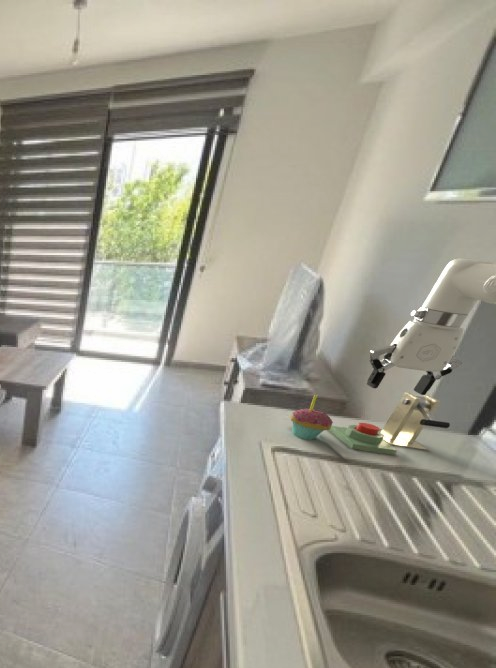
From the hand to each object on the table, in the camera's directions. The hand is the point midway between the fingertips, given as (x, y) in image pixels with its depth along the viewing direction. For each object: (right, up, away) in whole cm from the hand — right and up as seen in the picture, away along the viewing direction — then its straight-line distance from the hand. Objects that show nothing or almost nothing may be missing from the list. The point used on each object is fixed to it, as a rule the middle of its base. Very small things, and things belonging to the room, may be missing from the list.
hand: (394, 389), depth 115 cm
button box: (-2, -13, +7) cm, 15 cm away
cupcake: (-13, -11, +11) cm, 20 cm away
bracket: (+11, -12, +10) cm, 19 cm away
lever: (+10, -6, +3) cm, 12 cm away
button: (-2, -10, +6) cm, 12 cm away
